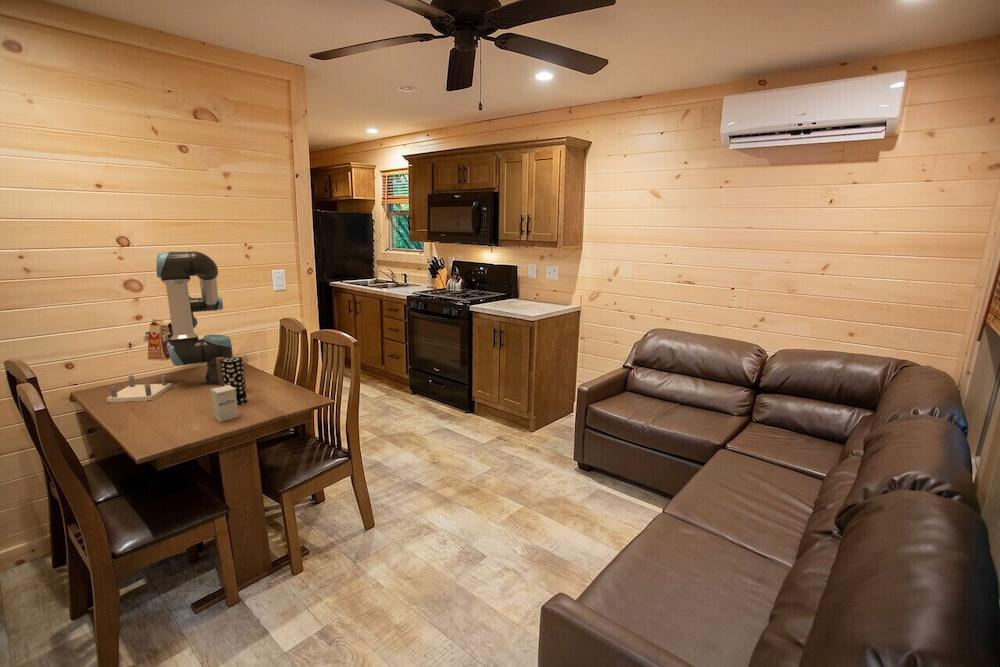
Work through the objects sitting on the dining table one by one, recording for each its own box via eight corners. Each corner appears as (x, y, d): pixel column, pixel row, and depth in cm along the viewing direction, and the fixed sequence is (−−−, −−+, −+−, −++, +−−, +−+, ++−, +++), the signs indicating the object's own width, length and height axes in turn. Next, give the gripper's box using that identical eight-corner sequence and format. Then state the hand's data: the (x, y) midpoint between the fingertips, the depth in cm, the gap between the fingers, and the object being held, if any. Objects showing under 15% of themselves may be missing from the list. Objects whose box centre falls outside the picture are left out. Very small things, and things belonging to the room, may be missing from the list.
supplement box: (219, 422, 197) (215, 393, 194) (213, 417, 202) (209, 388, 199) (239, 417, 202) (235, 388, 199) (232, 412, 207) (229, 384, 204)
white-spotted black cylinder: (238, 398, 223) (233, 356, 219) (251, 401, 220) (246, 358, 215) (221, 404, 216) (216, 360, 211) (234, 407, 212) (228, 363, 208)
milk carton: (165, 360, 236) (159, 320, 231) (146, 360, 236) (140, 319, 231) (178, 355, 245) (172, 316, 240) (159, 355, 245) (153, 316, 240)
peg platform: (171, 387, 236) (169, 373, 235) (152, 400, 219) (149, 386, 217) (131, 388, 234) (128, 374, 232) (107, 402, 216) (104, 387, 215)
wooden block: (246, 391, 232) (242, 355, 228) (221, 396, 224) (216, 359, 220) (244, 389, 234) (239, 353, 230) (219, 394, 227) (214, 357, 223)
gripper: (199, 334, 257) (178, 345, 235) (157, 335, 254) (131, 346, 232) (197, 320, 256) (176, 330, 234) (155, 321, 253) (129, 331, 231)
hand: (154, 338), depth 233 cm, fingers closed on milk carton, 8 cm apart
